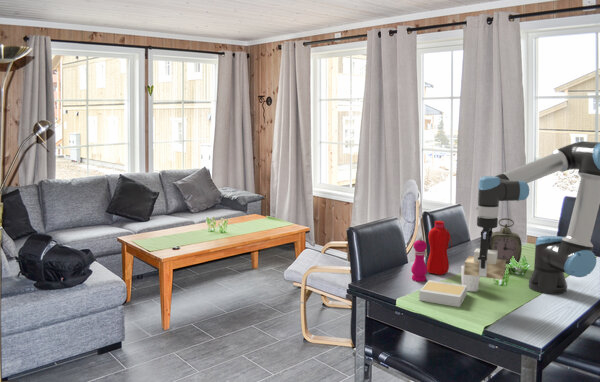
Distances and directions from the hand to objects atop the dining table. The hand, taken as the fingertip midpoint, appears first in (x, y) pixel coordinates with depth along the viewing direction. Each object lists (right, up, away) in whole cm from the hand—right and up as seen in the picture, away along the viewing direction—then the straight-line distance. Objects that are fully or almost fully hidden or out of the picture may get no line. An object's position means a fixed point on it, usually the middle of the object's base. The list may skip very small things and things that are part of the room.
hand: (484, 272), depth 206 cm
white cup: (+1, -11, +22) cm, 25 cm away
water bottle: (-6, -7, +46) cm, 47 cm away
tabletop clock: (+28, -6, +53) cm, 60 cm away
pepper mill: (-18, -9, +35) cm, 40 cm away
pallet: (0, 0, 0) cm, 0 cm away
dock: (-13, -12, +12) cm, 21 cm away
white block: (0, +5, -1) cm, 5 cm away
